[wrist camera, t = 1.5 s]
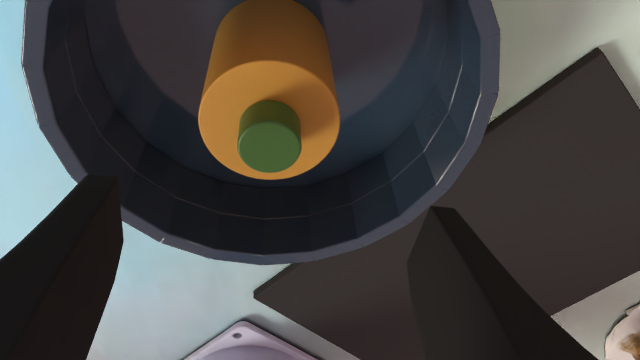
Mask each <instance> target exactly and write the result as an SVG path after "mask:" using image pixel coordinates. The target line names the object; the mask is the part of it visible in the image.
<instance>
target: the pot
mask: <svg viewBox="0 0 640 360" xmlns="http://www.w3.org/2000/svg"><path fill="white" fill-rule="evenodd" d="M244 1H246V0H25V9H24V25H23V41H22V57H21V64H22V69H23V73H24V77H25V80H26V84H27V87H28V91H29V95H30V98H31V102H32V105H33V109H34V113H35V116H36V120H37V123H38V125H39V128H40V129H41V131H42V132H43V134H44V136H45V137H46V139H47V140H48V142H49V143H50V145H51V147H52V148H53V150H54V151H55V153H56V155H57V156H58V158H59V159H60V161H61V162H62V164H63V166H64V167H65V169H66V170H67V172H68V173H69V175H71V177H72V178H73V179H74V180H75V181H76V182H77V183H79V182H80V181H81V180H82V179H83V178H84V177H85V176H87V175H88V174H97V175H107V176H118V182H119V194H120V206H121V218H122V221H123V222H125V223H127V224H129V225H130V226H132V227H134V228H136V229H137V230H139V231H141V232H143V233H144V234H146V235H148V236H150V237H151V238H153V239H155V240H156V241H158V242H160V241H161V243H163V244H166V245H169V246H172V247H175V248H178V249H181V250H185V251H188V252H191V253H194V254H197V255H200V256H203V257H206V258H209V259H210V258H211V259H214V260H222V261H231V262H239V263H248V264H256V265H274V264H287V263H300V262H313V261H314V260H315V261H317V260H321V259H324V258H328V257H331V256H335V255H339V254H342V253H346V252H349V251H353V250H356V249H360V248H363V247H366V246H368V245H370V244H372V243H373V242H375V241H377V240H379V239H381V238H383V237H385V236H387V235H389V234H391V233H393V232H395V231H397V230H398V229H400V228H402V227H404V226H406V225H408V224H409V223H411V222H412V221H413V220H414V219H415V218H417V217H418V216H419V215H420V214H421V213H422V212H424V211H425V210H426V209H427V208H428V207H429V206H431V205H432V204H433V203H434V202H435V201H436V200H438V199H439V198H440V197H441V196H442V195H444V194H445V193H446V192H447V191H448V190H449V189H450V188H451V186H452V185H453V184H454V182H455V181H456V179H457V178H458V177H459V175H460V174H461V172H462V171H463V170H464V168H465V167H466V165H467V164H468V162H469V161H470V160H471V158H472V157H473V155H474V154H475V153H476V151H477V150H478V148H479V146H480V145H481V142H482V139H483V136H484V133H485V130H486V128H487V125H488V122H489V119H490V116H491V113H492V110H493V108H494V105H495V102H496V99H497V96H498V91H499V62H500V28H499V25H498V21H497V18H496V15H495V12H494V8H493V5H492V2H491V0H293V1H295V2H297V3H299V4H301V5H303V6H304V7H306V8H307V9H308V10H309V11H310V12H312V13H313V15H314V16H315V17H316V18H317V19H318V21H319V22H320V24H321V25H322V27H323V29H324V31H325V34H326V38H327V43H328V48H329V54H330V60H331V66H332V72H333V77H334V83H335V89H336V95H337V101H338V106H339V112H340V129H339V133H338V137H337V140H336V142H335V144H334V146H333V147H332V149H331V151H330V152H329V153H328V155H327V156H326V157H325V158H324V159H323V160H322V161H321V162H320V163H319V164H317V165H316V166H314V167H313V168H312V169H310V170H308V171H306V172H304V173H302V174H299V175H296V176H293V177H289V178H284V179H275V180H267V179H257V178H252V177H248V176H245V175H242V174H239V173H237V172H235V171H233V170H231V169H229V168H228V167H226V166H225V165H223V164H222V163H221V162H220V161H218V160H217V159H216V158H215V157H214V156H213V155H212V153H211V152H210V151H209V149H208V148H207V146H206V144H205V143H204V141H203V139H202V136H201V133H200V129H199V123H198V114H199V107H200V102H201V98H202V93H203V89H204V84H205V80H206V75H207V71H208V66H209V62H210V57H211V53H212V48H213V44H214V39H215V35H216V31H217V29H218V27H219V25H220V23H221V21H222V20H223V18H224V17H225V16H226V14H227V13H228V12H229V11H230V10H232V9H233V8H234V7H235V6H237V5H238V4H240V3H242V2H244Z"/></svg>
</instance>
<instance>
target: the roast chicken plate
mask: <svg viewBox="0 0 640 360" xmlns="http://www.w3.org/2000/svg"><path fill="white" fill-rule="evenodd" d="M626 314H627V315H628V316H626V317H625V318H624V319H623V320H622V321H620V323H618V324H617V325H616V326H615V327H614V329H613V330H612V332H611V333H610V334H609V335H608V336H607V338H606V343H605V347H604V348H605V353H606V355H605V356H606V357H605V359H608V360H640V303H639V304H638V305H637V306H634V307H632V308H630V309H628V310H626Z"/></svg>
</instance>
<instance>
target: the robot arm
mask: <svg viewBox="0 0 640 360" xmlns="http://www.w3.org/2000/svg"><path fill="white" fill-rule="evenodd" d="M122 246H123V229H122V218H121V206H120V194H119V182H118V176H107V175H97V174H88V175H87V176H85V177H84V178H83V179H82V180H81V181H80V182H79V183H78V184H77V185H76V186H75V188H74V189H73V190H72V191H71V192H70V193H69V194H68V195H67V196H66V197H65V198H64V199H63V200H62V201H61V202H60V203H59V204H58V205H57V206H56V208H55V209H54V210H53V211H52V212H51V213H50V214H49V215H48V216H47V217H46V218H45V219H44V220H43V221H42V222H40V223H39V224H38V225H37V226H36V227H35V228H34V229H33V230H32V231H31V232H30V233H29V234H28V235H27V236H26V237H25V238H24V239H23V240H22V241H21V242H20V243H18V244H17V245H16V246H15V247H14V248H13V249H12V250H11V251H9V252H8V253H7V254H6V255H5V256H4V257H2V258H1V259H0V360H86V358H87V355H88V353H89V350H90V347H91V344H92V342H93V339H94V336H95V333H96V331H97V328H98V325H99V323H100V320H101V317H102V314H103V312H104V309H105V306H106V303H107V301H108V298H109V295H110V292H111V289H112V287H113V284H114V280H115V276H116V272H117V268H118V264H119V259H120V255H121V250H122ZM407 272H408V281H409V289H410V297H411V303H412V307H413V311H414V315H415V319H416V323H417V327H418V331H419V335H420V339H421V343H422V347H423V350H424V354H425V358H426V360H598V359H597V358H596V357H594V356H593V355H592V354H591V353H590V352H589V351H587V350H586V349H585V348H584V347H583V346H582V345H580V344H579V343H578V342H577V341H576V340H575V339H574V338H573V337H572V336H571V335H569V334H568V333H567V332H566V331H565V330H564V329H563V328H562V327H561V326H560V325H558V324H557V323H556V322H555V321H554V320H553V319H552V318H551V317H550V316H549V315H548V314H547V313H546V312H545V311H544V310H543V309H542V308H541V307H540V306H539V305H538V304H537V303H536V302H535V301H534V300H533V298H532V297H531V296H530V295H529V294H528V293H527V292H526V291H525V290H524V289H523V288H522V287H521V286H520V285H519V284H518V282H517V281H516V280H515V279H514V278H513V277H512V276H511V275H510V273H509V272H508V271H507V270H506V269H505V268H504V267H503V265H502V264H501V263H500V262H499V261H498V260H497V258H496V257H495V256H494V255H493V254H492V253H491V251H490V250H489V249H488V248H487V247H486V245H485V244H484V243H483V242H482V240H481V239H480V238H479V237H478V236H477V234H476V233H475V232H474V231H473V230H472V228H471V227H470V226H469V225H468V223H467V222H466V221H465V220H464V219H463V217H462V216H461V215H460V214H459V213H458V212H457V211H456V209H455V208H449V207H438V206H430V208H429V210H428V213H427V215H426V217H425V220H424V222H423V224H422V227H421V229H420V232H419V234H418V236H417V239H416V241H415V243H414V246H413V248H412V251H411V253H410V255H409V258H408V260H407ZM184 360H317V359H316V358H314V357H312V356H310V355H308V354H306V353H304V352H303V351H301V350H299V349H297V348H295V347H293V346H292V345H290V344H288V343H286V342H284V341H282V340H280V339H279V338H277V337H275V336H273V335H271V334H269V333H267V332H266V331H264V330H262V329H260V328H258V327H256V326H254V325H253V324H251V323H249V322H246V321H241V322H238V323H236V324H235V325H233V326H232V327H230V328H229V329H227V330H226V331H224V332H223V333H222V334H220V335H219V336H217V337H216V338H214V339H213V340H211V341H210V342H208V343H207V344H206V345H204V346H203V347H201V348H200V349H198V350H197V351H195V352H194V353H192V354H191V355H190V356H188V357H187V358H185V359H184Z"/></svg>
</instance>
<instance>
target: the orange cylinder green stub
mask: <svg viewBox="0 0 640 360" xmlns="http://www.w3.org/2000/svg"><path fill="white" fill-rule="evenodd" d="M198 123H199V129H200V133H201V136H202V139H203V141H204V143H205V144H206V146H207V148H208V149H209V151H210V152H211V153H212V155H213V156H214V157H215V158H216V159H217V160H218V161H220V162H221V163H222V164H223V165H225V166H226V167H228V168H229V169H231V170H233V171H235V172H237V173H239V174H242V175H245V176H248V177H252V178H257V179H267V180H275V179H284V178H289V177H293V176H296V175H299V174H302V173H304V172H306V171H308V170H310V169H312V168H313V167H314V166H316V165H317V164H319V163H320V162H321V161H322V160H323V159H324V158H325V157H326V156H327V155H328V153H329V152H330V151H331V149H332V147H333V146H334V144H335V142H336V140H337V137H338V133H339V129H340V112H339V106H338V101H337V95H336V89H335V83H334V77H333V72H332V66H331V60H330V54H329V48H328V43H327V38H326V34H325V31H324V29H323V27H322V25H321V24H320V22H319V21H318V19H317V18H316V17H315V16H314V15H313V13H312V12H310V11H309V10H308V9H307V8H306V7H304V6H303V5H301V4H299V3H297V2H295V1H293V0H246V1H244V2H242V3H240V4H238V5H237V6H235V7H234V8H233V9H232V10H230V11H229V12H228V13H227V14H226V16H225V17H224V18H223V20H222V21H221V23H220V25H219V27H218V29H217V31H216V35H215V39H214V44H213V48H212V53H211V57H210V62H209V66H208V71H207V75H206V80H205V84H204V89H203V93H202V98H201V102H200V107H199V114H198Z"/></svg>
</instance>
